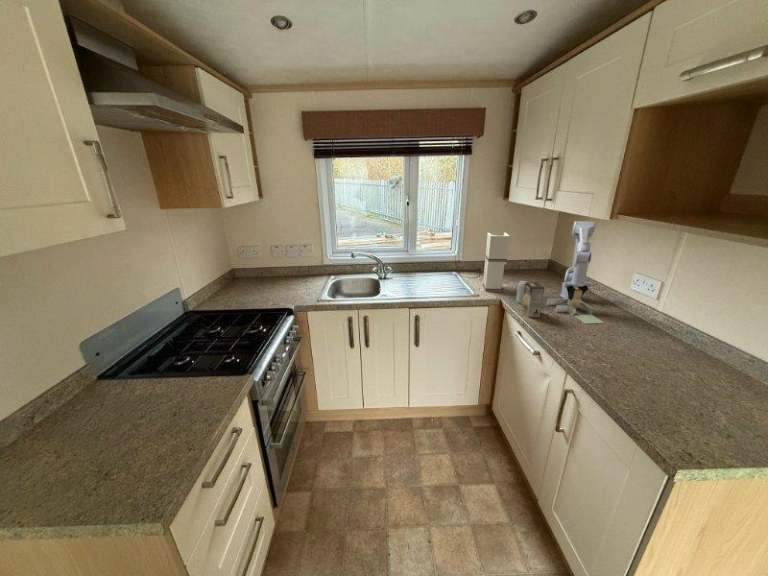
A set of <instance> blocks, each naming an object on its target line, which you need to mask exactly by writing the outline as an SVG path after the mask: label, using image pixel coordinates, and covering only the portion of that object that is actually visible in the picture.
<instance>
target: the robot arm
mask: <svg viewBox="0 0 768 576" xmlns="http://www.w3.org/2000/svg"><path fill="white" fill-rule="evenodd" d="M595 230H596V222H595V221H582V220H581V221H577V220H575V221H574V222H573V226H572V238H575V247H574V255H573V259H572V260H573V261H572V266H570V267H569V268H567V269H566V272H565V275H564V280H563V281H564V282H563V281H562V285H561V286H562V287H561V291H560V292H561V293H560V294H559V297H560V298H561V297H562V298H568V299H570V300H572V298H573V294H574V291H575V290H576V289H575V288H579V289H581V290H582V296H581V301H582V298H583V296H584V295H585V293H586V292H587V291H589V287H593V284H594V283H593V282H591V281H587V274H588V273H587V272H588V267H589V264H590V263H591V261H592V251H591V242H590V241H589V239H591V238H592V236H593V234H594V232H595ZM582 302H583V301H582Z"/></svg>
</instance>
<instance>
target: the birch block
mask: <svg viewBox="0 0 768 576" xmlns="http://www.w3.org/2000/svg"><path fill="white" fill-rule="evenodd" d="M575 289H576V290H575V291H574V294H573V298H572V300H570V299H568V303H567V304H568V305H571V306H572V307H573V308H576V307H577V308H579V305H580V301H581V300H582V298H581V296H582V290H581V289H579V288H575ZM582 297H583V296H582Z"/></svg>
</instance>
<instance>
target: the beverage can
mask: <svg viewBox="0 0 768 576" xmlns="http://www.w3.org/2000/svg"><path fill="white" fill-rule="evenodd" d="M525 282H528V281H527V280H521V281H519V283H518V284H517V291H516V299H515V301H516V302H517V303H518V304H522V303H523V296H524V289H525Z"/></svg>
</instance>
